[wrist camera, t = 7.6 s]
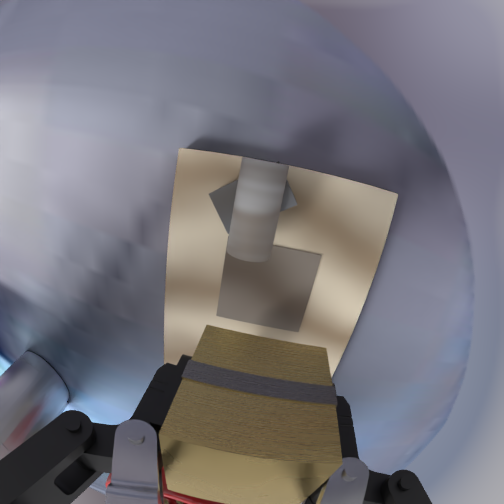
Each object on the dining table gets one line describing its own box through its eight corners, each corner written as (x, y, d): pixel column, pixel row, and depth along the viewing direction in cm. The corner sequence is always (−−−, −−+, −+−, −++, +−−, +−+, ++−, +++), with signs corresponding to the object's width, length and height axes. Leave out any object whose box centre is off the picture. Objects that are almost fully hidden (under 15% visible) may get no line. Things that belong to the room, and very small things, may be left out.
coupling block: (328, 346, 10) (345, 462, 5) (294, 418, 11) (292, 511, 7) (205, 323, 10) (156, 432, 5) (197, 399, 12) (166, 489, 7)
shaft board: (312, 403, 24) (315, 443, 19) (168, 374, 24) (150, 410, 20) (392, 189, 17) (425, 202, 12) (185, 146, 17) (154, 144, 13)
